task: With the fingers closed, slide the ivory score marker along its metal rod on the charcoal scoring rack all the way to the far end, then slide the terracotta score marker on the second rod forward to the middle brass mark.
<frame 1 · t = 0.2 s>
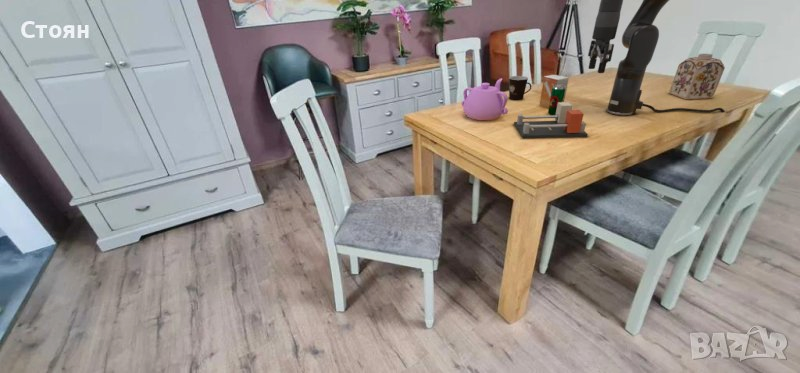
hand: (595, 70, 131), 17 cm above the table, tool pointing down, fingers open, 8 cm apart
soda can: (554, 114, 141), on the table
teapot: (485, 115, 145), on the table
terracotta marker: (573, 121, 117), point 5 cm above the table, slide at 0.0 cm
coffee mug: (517, 100, 162), on the table
ivory marker: (563, 112, 126), point 5 cm above the table, slide at 0.0 cm
decorative jar: (689, 96, 152), on the table
score rack: (548, 130, 125), on the table
small box: (551, 107, 150), on the table
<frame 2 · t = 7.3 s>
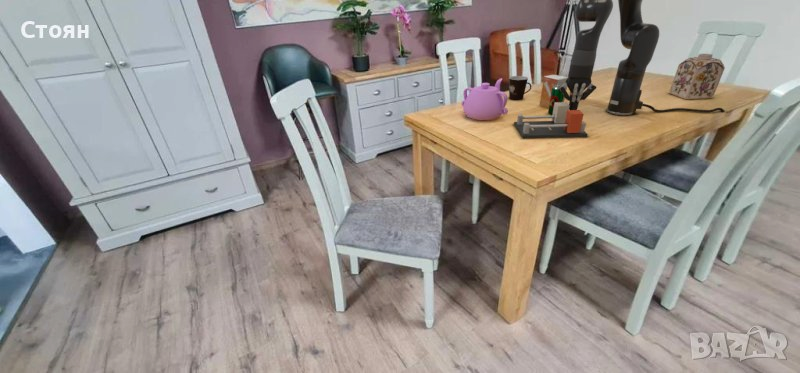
hand: (572, 111, 125), 6 cm above the table, tool pointing down, fingers closed
ivory marker: (560, 112, 126), point 5 cm above the table, slide at 1.2 cm, touching gripper
everything else where it was.
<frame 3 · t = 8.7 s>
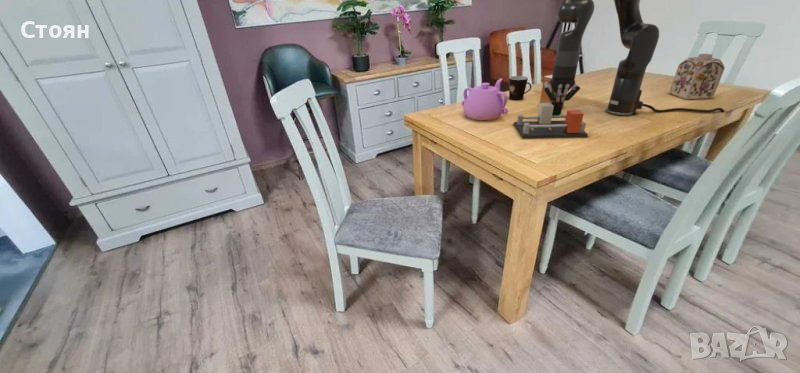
hand: (557, 111, 126), 6 cm above the table, tool pointing down, fingers closed
ivory marker: (545, 113, 127), point 5 cm above the table, slide at 6.8 cm, touching gripper
everything else where it was.
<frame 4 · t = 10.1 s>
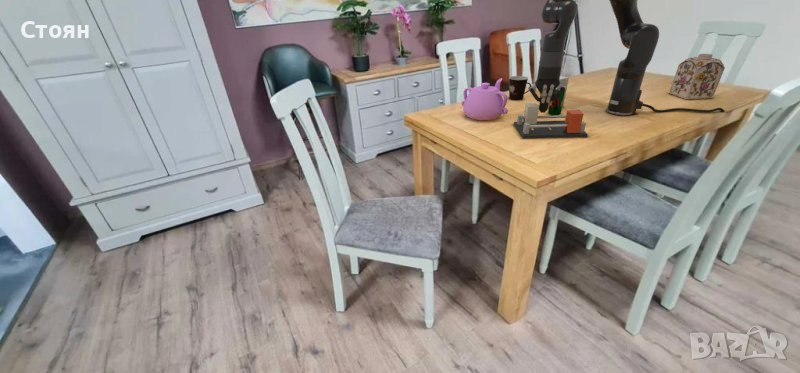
hand: (542, 112, 127), 6 cm above the table, tool pointing down, fingers closed
ivory marker: (530, 113, 127), point 5 cm above the table, slide at 12.0 cm, touching gripper
everything else where it was.
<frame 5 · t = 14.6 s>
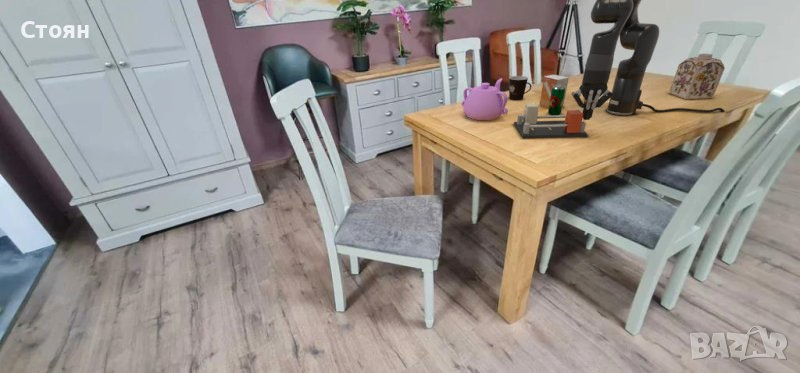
hand: (586, 119, 117), 6 cm above the table, tool pointing down, fingers closed
terracotta marker: (573, 121, 117), point 5 cm above the table, slide at 0.0 cm, touching gripper
ivory marker: (530, 113, 127), point 5 cm above the table, slide at 12.1 cm
everything else where it was.
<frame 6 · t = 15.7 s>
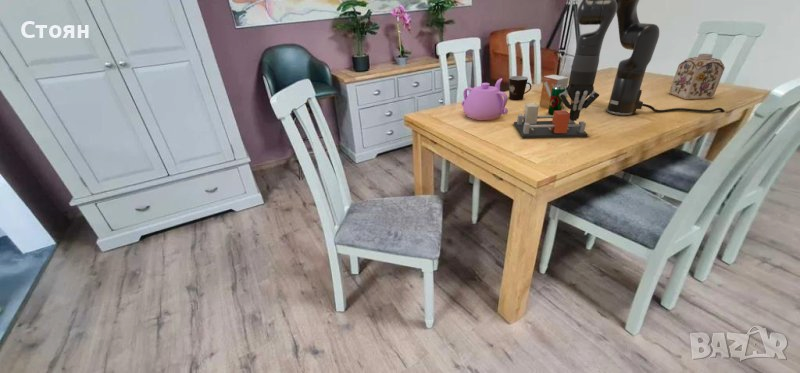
hand: (573, 120, 117), 6 cm above the table, tool pointing down, fingers closed
terracotta marker: (560, 121, 118), point 5 cm above the table, slide at 4.4 cm, touching gripper
everything else where it was.
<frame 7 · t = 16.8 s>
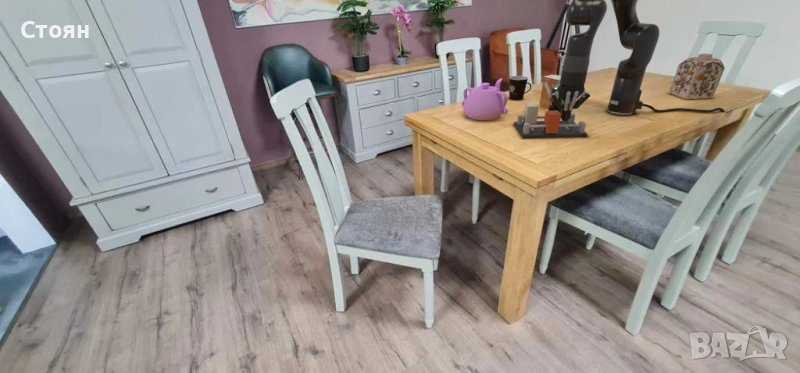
hand: (564, 120, 117), 6 cm above the table, tool pointing down, fingers closed
terracotta marker: (551, 122, 118), point 5 cm above the table, slide at 7.3 cm, touching gripper
everything else where it was.
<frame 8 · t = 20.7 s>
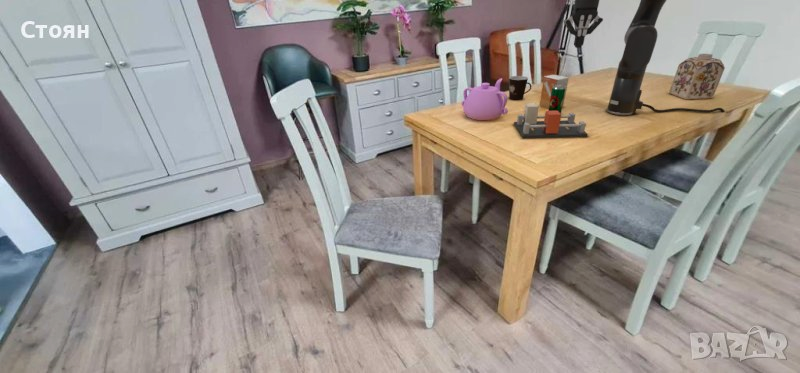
hand: (577, 47, 122), 27 cm above the table, tool pointing down, fingers closed
terracotta marker: (551, 122, 118), point 5 cm above the table, slide at 7.3 cm
everything else where it was.
at the end: ivory marker slide at 12.1 cm; terracotta marker slide at 7.3 cm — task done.
